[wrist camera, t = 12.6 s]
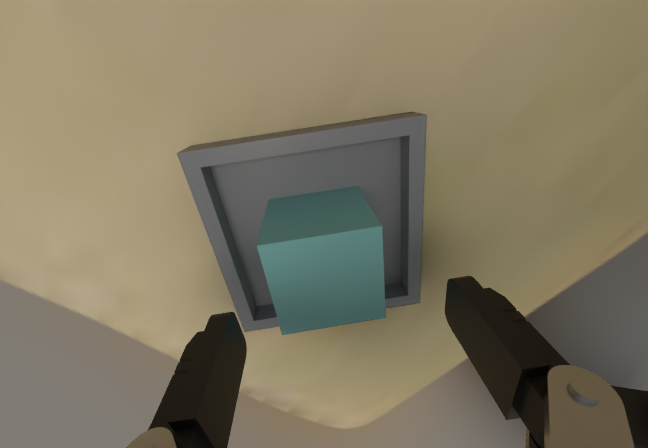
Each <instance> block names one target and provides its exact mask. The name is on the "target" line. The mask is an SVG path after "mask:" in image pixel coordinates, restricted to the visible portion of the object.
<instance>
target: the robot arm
mask: <svg viewBox="0 0 648 448" xmlns="http://www.w3.org/2000/svg"><path fill="white" fill-rule="evenodd" d="M445 315H446V319H447V322H448V324H449V326H450V328H451V329H452V331H453V333H454V334H455V336H456V338H457V339H458V341H459V342H460V344H461V346H462V347H463V349H464V351H465V352H466V354H467V356H468V357H469V359H470V360H471V362H472V364H473V365H474V367H475V369H476V370H477V372H478V374H479V375H480V377H481V378H482V380H483V382H484V384H485V385H486V387H487V388H488V390H489V392H490V393H491V395H492V397H493V398H494V400H495V402H496V403H497V405H498V407H499V408H500V410H501V412H502V413H503V415H504V416H505V418H506V420H509V419H516V418H521V419H522V421H523V422H524V424H525V425H526V427H527V430H526V448H648V391H641V390H635V389H628V388H622V387H615V386H611V385H609V384H608V383H606V382H605V381H604V380H603V379H601V378H600V377H598V376H597V375H595V374H593V373H591V372H589V371H587V370H585V369H582V368H579V367H575V366H571V365H570V364H569V363H567V361H566V360H565V359H564V358H563V357H562V356H561V355H560V354H559V353H558V352H557V351H556V350H555V349H554V348H553V347H552V346H551V345H550V344H549V343H548V342H547V341H546V340H545V339H544V337H543V336H542V335H541V334H540V333H539V332H538V331H537V330H536V329H535V328H534V327H533V326H532V325H531V324H530V323H529V322H528V321H526V319H525V317H524V316H523V315H522V314H521V313H520V312H519V311H517V310H516V308H515V307H514V306H513V305H512V304H511V303H510V302H509V301H508V300H507V299H506V298H505V297H504V296H503V295H501V294H499V293H498V292H496V291H494V290H493V289H491V288H484V289H483V288H482V286H481V285H480V284H479V283H478V282H477V281H476V280H475V279H474V278H473V277H472V276H465V277H458V278H452V279H449V280H448V282H447V292H446V303H445ZM246 352H247V348H246V341H245V338H244V335H243V333H242V330H241V328H240V325H239V323H238V320H237V318H236V315H235V313H234V312H228V313H222V314H215V315H212V316H211V317H210V318H209V321H208V323H207V325H206V328H205V330H204V331H202V332H197V333H196V335H195V336H194V337H193V338H192V339H191V341H190V342H189V343H188V344H187V345H186V347H185V350H184V352H183V354H182V356H181V359H180V363H178V365H177V367H176V370H175V374H174V375H173V377H172V379H171V381H170V383H169V385H168V388H167V390H166V392H165V394H164V396H163V399H162V401H161V403H160V405H159V408H158V410H157V412H156V414H155V416H154V419H153V421H152V423H151V425H150V427H149V429H148V430H147V431H146V432H144V433H142V434H141V435H139V436H138V437H137V438H135V439H134V440H133V441H132V442H131V443H130V444H129V445H128V446H127V447H126V448H227V445H228V440H229V436H230V431H231V426H232V421H233V417H234V412H235V407H236V402H237V397H238V393H239V388H240V383H241V379H242V374H243V369H244V364H245V359H246Z"/></svg>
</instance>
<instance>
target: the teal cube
mask: <svg viewBox="0 0 648 448" xmlns="http://www.w3.org/2000/svg"><path fill="white" fill-rule="evenodd" d="M257 249H258V252H259V256H260V259H261V263H262V266H263V270H264V273H265V277H266V280H267V284H268V287H269V290H270V294H271V297H272V301H273V304H274V308H275V311H276V315H277V318H278V322H279V325H280V329H281V332H282V335H285V334H291V333H297V332H303V331H309V330H315V329H321V328H327V327H333V326H339V325H345V324H351V323H357V322H363V321H369V320H375V319H381V318H386V312H385V286H384V260H383V234H382V225H381V223H380V222H379V220H378V218H377V217H376V215H375V214H374V212H373V210H372V209H371V207H370V205H369V204H368V202H367V201H366V199H365V197H364V196H363V194H362V193H361V191H360V189H359V188H358V186H352V187H346V188H339V189H333V190H326V191H320V192H314V193H307V194H301V195H294V196H288V197H282V198H275V199H269V200H268V204H267V208H266V212H265V216H264V220H263V223H262V227H261V231H260V235H259V239H258V243H257Z"/></svg>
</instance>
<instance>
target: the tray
mask: <svg viewBox="0 0 648 448" xmlns="http://www.w3.org/2000/svg"><path fill="white" fill-rule="evenodd" d="M426 120H427V115H425V114H420V113H415V112H408V113H401V114H395V115H388V116H382V117H375V118H369V119H362V120H355V121H349V122H342V123H336V124H329V125H323V126H316V127H310V128H303V129H297V130H290V131H284V132H277V133H271V134H264V135H258V136H251V137H245V138H238V139H232V140H225V141H219V142H212V143H206V144H199V145H193V146H189V147H188V148H186V149H184V150H182V151H180V152H178V153H177V155H178V158H179V160H180V163H181V166H182V168H183V171H184V174H185V176H186V179H187V181H188V184H189V187H190V189H191V192H192V195H193V197H194V200H195V203H196V205H197V208H198V210H199V213H200V216H201V218H202V221H203V224H204V226H205V229H206V232H207V234H208V237H209V240H210V242H211V245H212V247H213V250H214V253H215V255H216V258H217V261H218V263H219V266H220V269H221V271H222V274H223V277H224V279H225V282H226V284H227V287H228V290H229V292H230V295H231V298H232V300H233V303H234V306H235V308H236V311H237V314H238V316H239V319H240V321H241V324H242V327H243V329H244V332H248V331H254V330H260V329H266V328H272V327H278V326H280V325H279V322H278V318H277V315H276V311H275V308H274V304H273V301H272V297H271V294H270V290H269V287H268V284H267V280H266V277H265V273H264V270H263V266H262V263H261V259H260V256H259V252H258V249H257V243H258V239H259V235H260V231H261V227H262V223H263V220H264V216H265V212H266V208H267V204H268V200H269V199H275V198H282V197H288V196H294V195H301V194H307V193H314V192H320V191H326V190H333V189H339V188H346V187H352V186H358V188H359V189H360V191H361V193H362V194H363V196H364V197H365V199H366V201H367V202H368V204H369V205H370V207H371V209H372V210H373V212H374V214H375V215H376V217H377V218H378V220H379V222H380V223H381V225H382V234H383V260H384V286H385V309H386V308H392V307H398V306H404V305H410V304H416V303H420V287H421V259H422V232H423V204H424V176H425V148H426Z"/></svg>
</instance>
